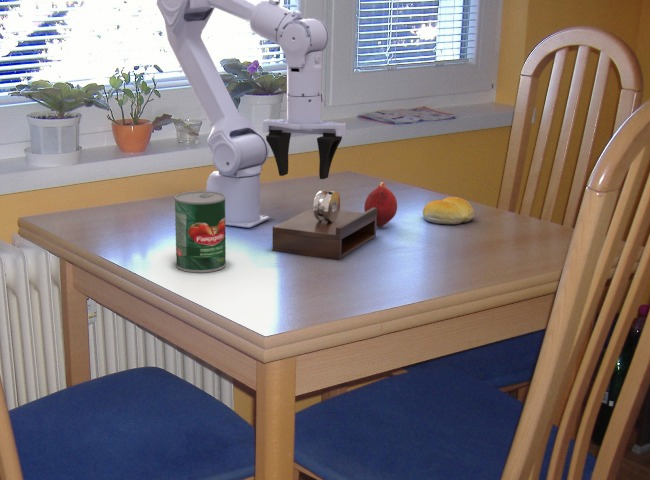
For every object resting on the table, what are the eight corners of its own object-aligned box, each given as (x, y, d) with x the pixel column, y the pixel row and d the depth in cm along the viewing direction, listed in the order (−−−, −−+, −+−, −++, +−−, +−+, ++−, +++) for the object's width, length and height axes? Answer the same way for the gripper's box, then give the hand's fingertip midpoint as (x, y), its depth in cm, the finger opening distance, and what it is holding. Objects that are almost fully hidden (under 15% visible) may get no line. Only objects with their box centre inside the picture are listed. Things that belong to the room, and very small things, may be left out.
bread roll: (413, 218, 189) (415, 197, 188) (450, 212, 194) (452, 191, 192) (443, 228, 183) (445, 205, 181) (481, 221, 187) (483, 199, 185)
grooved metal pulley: (327, 225, 169) (328, 194, 167) (311, 223, 170) (312, 193, 168) (339, 218, 173) (340, 189, 171) (323, 216, 174) (324, 187, 172)
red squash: (395, 231, 180) (397, 186, 177) (362, 230, 182) (364, 185, 178) (396, 223, 186) (399, 179, 183) (364, 222, 187) (366, 178, 184)
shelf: (272, 250, 170) (272, 219, 168) (312, 229, 183) (313, 200, 180) (339, 260, 164) (340, 228, 162) (375, 237, 177) (377, 207, 175)
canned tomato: (208, 275, 157) (207, 204, 153) (166, 268, 161) (164, 198, 156) (235, 263, 163) (235, 194, 159) (194, 256, 167) (192, 188, 163)
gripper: (254, 96, 171) (255, 177, 177) (334, 99, 165) (333, 183, 170) (273, 91, 177) (273, 170, 182) (351, 94, 170) (349, 176, 176)
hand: (303, 176), depth 176 cm, fingers open, 7 cm apart
